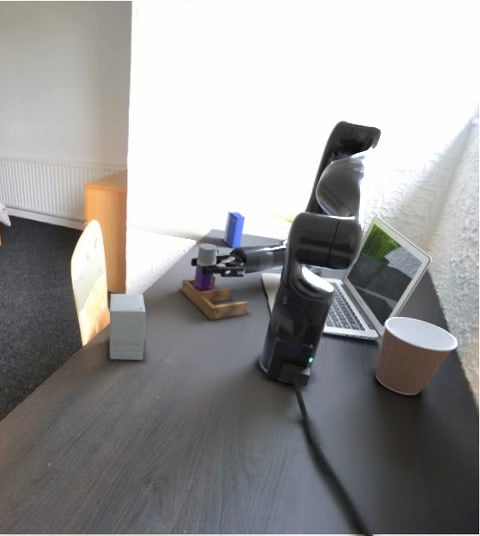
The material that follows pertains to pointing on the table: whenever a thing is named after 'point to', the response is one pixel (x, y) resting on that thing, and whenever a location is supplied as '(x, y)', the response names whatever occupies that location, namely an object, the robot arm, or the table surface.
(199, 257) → the container
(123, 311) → the white packaging box
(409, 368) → the coffee cup
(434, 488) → the table surface
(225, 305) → the caddy
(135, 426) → the table surface
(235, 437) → the table surface
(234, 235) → the walkman
